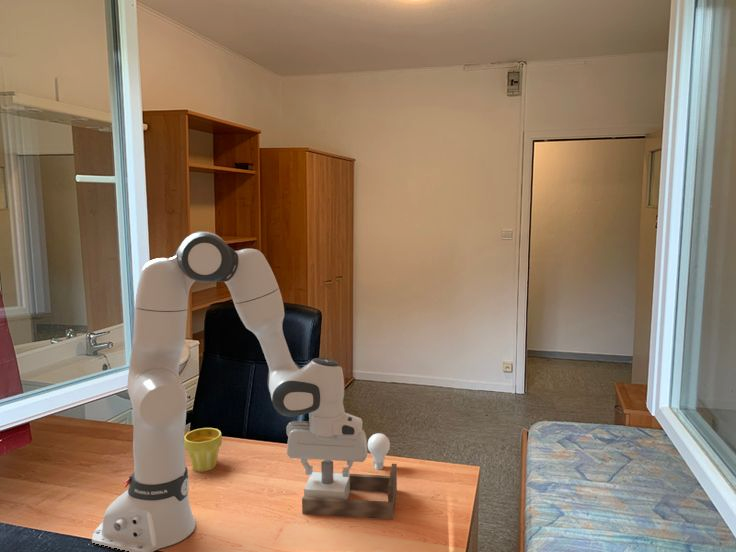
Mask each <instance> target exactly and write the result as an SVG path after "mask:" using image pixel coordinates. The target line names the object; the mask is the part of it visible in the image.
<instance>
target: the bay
mask: <svg viewBox="0 0 736 552" xmlns="http://www.w3.org/2000/svg"><path fill="white" fill-rule="evenodd" d="M397 466H398V465H397V463H391V468H390V472H389V473H390V474H389V475H380V474H379V475H378V474H363V473H361V474H360V473H349V474H350V491H365V492H383V493H384V492H386V493H387V501H382V500H381V501H380V500H367V499H350V498H348V499H336V498H319V497H304V496H302V498H301V504H302V505H301V507H302V508H301V510H302V511H301V512H302V515H313V516H325V517H326V516H327V517H341V518H358V519H359V518H360V519H361V518H362V519H373V520H374V519H375V520H376V519H377V520H378V519H379V520H391V521H392V520H393V519H394V514H395V513H394V512H395V506H396V499H397V491H398V476H397V469H398V468H397ZM340 473H341V474H343V473H342V472H340Z"/></svg>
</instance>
